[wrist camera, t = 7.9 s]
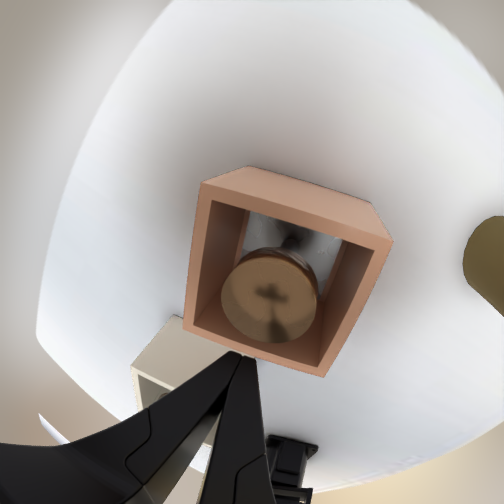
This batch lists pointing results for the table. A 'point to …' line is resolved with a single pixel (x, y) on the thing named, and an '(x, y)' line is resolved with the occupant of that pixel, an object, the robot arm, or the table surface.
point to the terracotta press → (300, 213)
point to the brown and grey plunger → (278, 279)
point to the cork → (487, 261)
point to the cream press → (173, 364)
